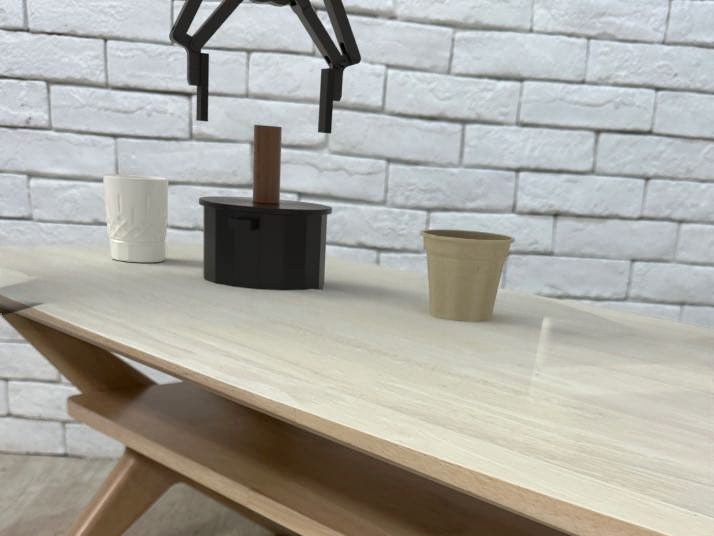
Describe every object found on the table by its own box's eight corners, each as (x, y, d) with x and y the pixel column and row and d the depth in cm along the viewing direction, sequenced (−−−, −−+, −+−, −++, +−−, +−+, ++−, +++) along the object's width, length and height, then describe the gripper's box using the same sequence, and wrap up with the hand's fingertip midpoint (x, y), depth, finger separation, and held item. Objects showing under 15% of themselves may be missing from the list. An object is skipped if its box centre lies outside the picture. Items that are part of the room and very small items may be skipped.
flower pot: (437, 330, 96) (445, 238, 93) (399, 313, 104) (405, 227, 101) (521, 330, 100) (532, 241, 97) (478, 313, 108) (487, 230, 105)
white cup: (181, 262, 128) (181, 180, 124) (127, 264, 122) (125, 178, 119) (146, 254, 133) (145, 174, 129) (93, 256, 127) (90, 173, 123)
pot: (177, 290, 107) (176, 207, 104) (233, 270, 125) (234, 199, 121) (300, 302, 105) (303, 219, 102) (339, 281, 123) (343, 209, 120)
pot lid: (178, 211, 106) (178, 118, 103) (224, 204, 120) (224, 122, 116) (313, 224, 104) (317, 129, 101) (344, 216, 118) (348, 132, 115)
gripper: (151, -130, 93) (152, 116, 101) (400, -84, 102) (383, 138, 110) (141, -115, 99) (143, 115, 107) (376, -73, 109) (361, 136, 116)
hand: (264, 127), depth 109 cm, fingers open, 13 cm apart
